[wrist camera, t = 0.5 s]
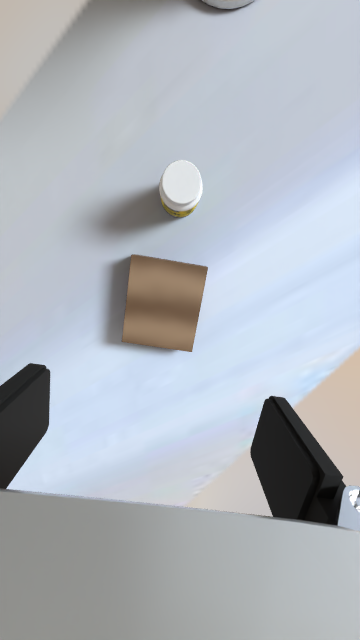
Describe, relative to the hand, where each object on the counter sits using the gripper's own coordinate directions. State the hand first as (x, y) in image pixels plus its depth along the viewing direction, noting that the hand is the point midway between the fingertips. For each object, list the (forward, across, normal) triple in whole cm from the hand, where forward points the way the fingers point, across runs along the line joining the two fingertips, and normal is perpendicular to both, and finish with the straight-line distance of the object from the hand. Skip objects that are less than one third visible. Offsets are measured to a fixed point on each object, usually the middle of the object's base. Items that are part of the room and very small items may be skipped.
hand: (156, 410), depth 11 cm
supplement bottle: (+27, +1, -13) cm, 30 cm away
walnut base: (+27, +1, +1) cm, 27 cm away
